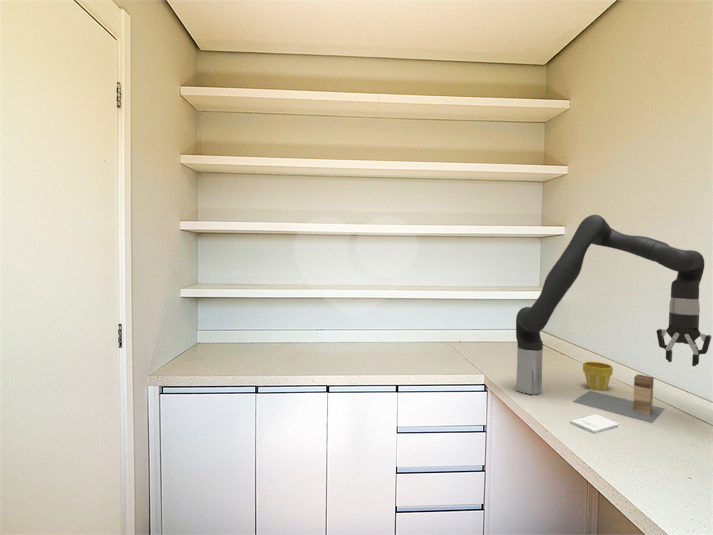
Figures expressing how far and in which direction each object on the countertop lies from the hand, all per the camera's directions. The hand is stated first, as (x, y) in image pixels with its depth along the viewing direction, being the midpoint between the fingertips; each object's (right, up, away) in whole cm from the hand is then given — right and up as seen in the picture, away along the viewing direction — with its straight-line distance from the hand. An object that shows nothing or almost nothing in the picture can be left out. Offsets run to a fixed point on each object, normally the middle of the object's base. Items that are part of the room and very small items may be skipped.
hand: (681, 363), depth 129 cm
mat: (-12, -19, +14) cm, 26 cm away
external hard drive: (-29, -20, -1) cm, 35 cm away
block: (-7, -19, +8) cm, 21 cm away
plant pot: (-8, -18, +33) cm, 39 cm away
